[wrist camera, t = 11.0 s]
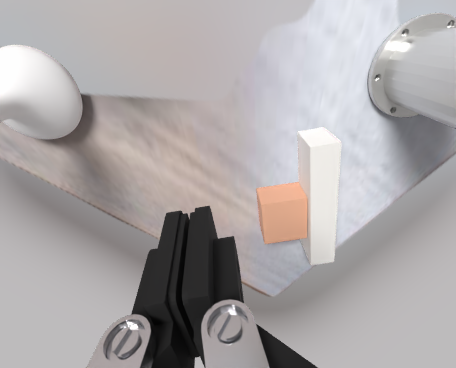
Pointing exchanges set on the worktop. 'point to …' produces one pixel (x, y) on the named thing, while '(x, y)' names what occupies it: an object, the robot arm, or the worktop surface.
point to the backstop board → (319, 191)
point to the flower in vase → (37, 94)
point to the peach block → (282, 212)
